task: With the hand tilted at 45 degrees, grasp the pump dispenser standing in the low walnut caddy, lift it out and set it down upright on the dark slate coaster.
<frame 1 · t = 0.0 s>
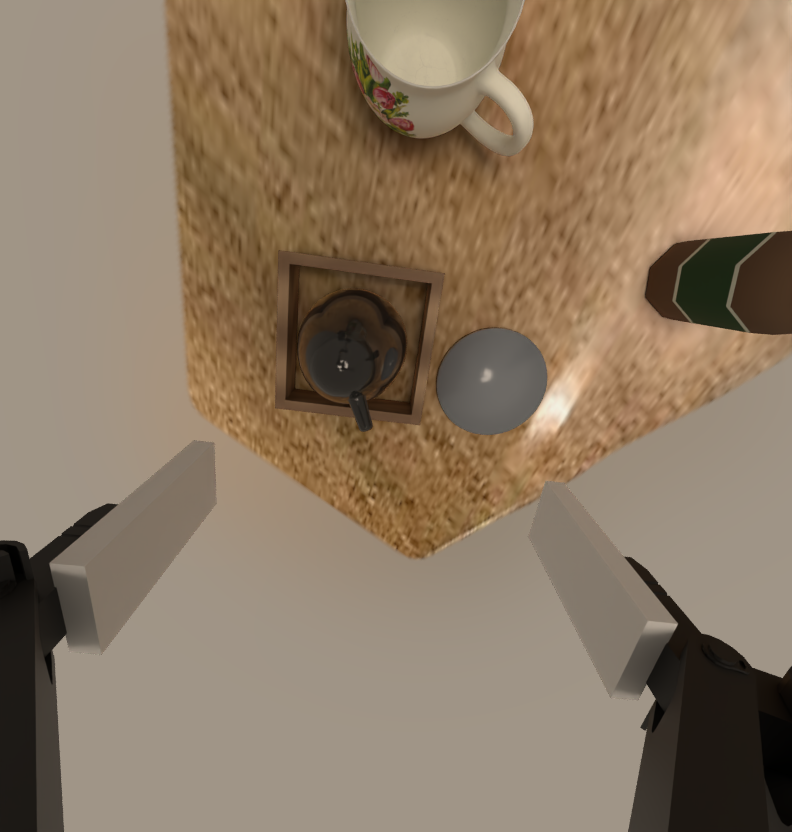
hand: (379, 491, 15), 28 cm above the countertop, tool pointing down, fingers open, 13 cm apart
caddy: (358, 338, 41), on the countertop
coaster: (490, 382, 43), on the countertop
beer bottle: (679, 280, 39), on the countertop
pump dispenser: (358, 337, 41), resting in caddy
pitcher: (427, 92, 34), on the countertop
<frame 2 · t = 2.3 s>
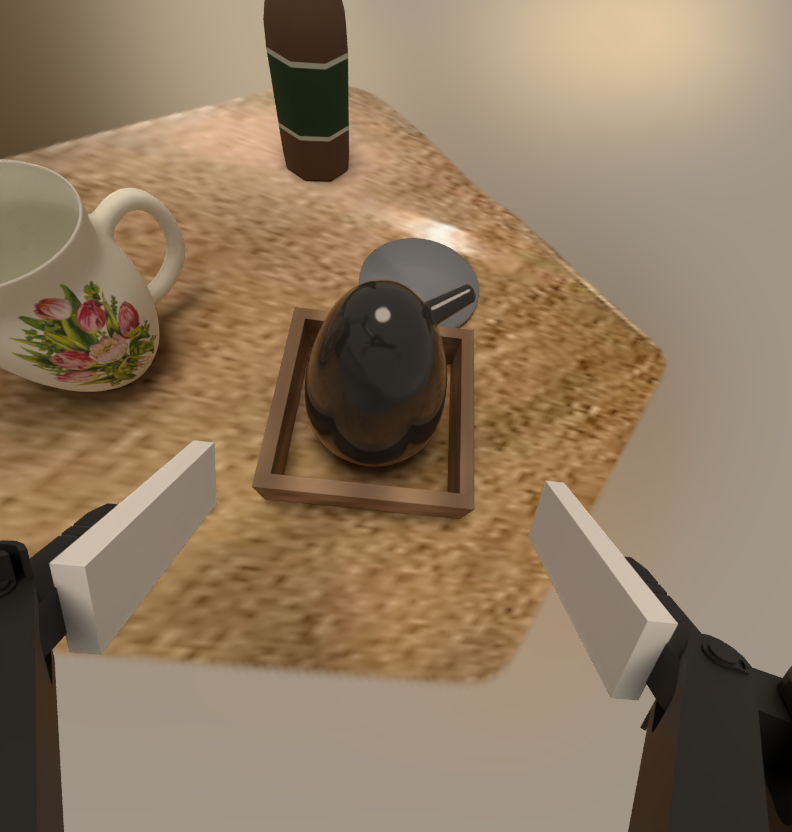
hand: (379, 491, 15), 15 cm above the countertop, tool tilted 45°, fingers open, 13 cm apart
caddy: (373, 419, 33), on the countertop
coaster: (418, 288, 39), on the countertop
beer bottle: (317, 163, 45), on the countertop
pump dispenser: (373, 421, 33), resting in caddy
pitcher: (124, 349, 33), on the countertop
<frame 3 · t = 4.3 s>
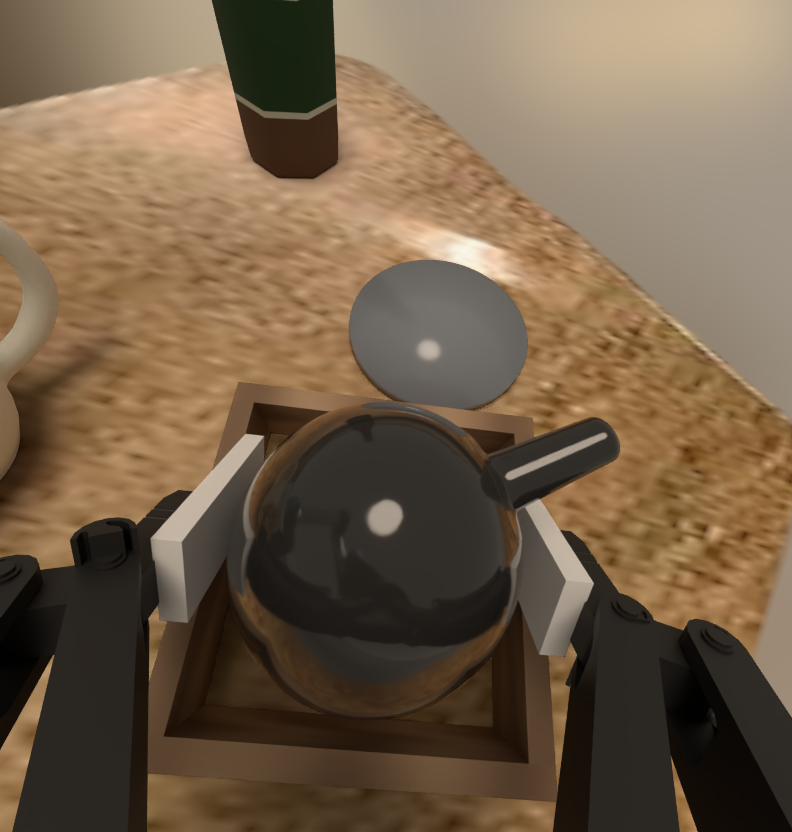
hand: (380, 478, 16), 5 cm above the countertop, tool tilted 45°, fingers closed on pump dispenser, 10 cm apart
caddy: (368, 562, 20), on the countertop
coaster: (437, 334, 26), on the countertop
beer bottle: (296, 154, 33), on the countertop
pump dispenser: (369, 562, 20), resting in caddy, touching gripper
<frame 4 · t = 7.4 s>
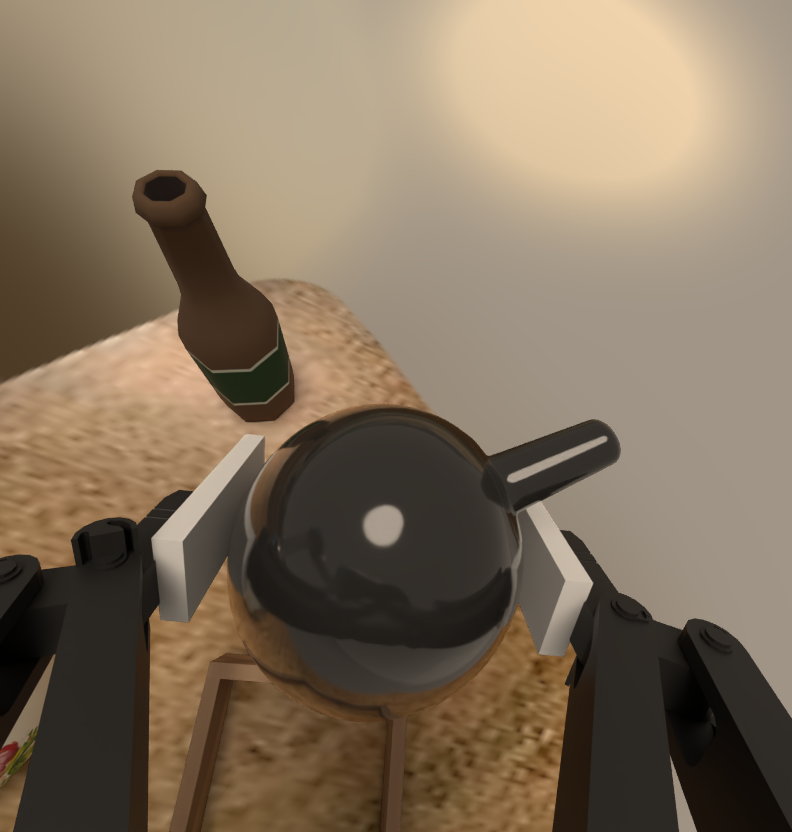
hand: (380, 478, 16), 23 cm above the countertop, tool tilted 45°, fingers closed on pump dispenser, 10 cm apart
caddy: (299, 774, 30), on the countertop
beer bottle: (262, 393, 43), on the countertop
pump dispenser: (370, 563, 20), point 17 cm above the countertop, touching gripper
pitcher: (28, 690, 30), on the countertop
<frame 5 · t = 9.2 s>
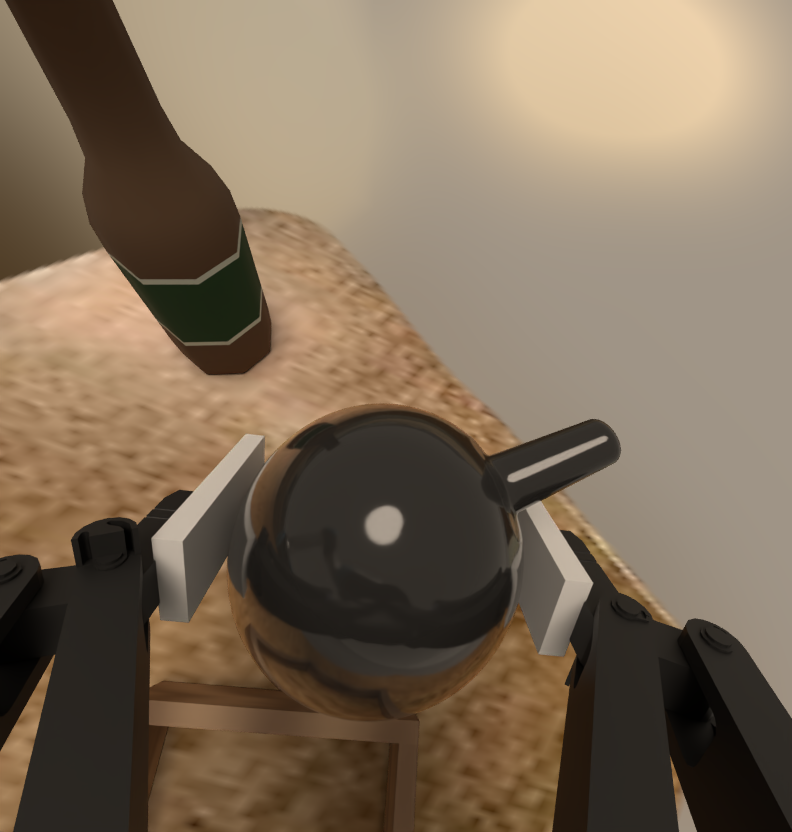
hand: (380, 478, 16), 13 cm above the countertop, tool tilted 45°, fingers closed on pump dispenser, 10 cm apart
beer bottle: (230, 341, 33), on the countertop
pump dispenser: (369, 563, 20), point 7 cm above the countertop, touching gripper
when the fingers open (8 cm above the countertop, at t = 10.8 s): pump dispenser drops 1 cm, resting on coaster.
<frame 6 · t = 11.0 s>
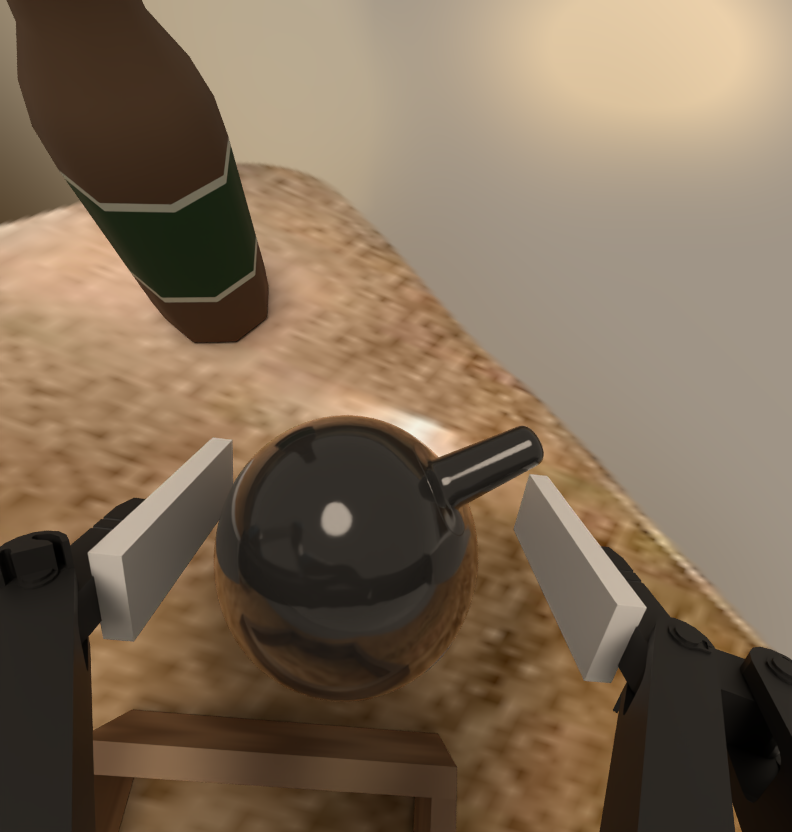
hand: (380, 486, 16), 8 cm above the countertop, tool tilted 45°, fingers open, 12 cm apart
beer bottle: (220, 306, 29), on the countertop
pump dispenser: (362, 566, 21), point 1 cm above the countertop, touching coaster
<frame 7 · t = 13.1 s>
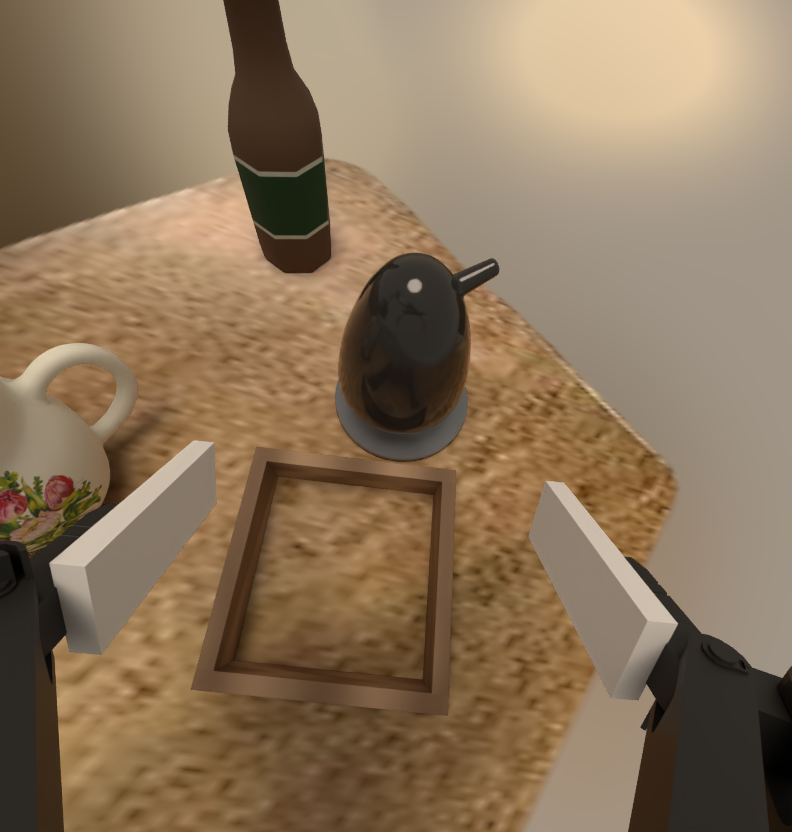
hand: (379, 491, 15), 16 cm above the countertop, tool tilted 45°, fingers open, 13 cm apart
caddy: (343, 569, 29), on the countertop
coaster: (401, 399, 36), on the countertop
beer bottle: (299, 251, 43), on the countertop
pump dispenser: (398, 397, 35), point 1 cm above the countertop, touching coaster
pitcher: (75, 484, 31), on the countertop
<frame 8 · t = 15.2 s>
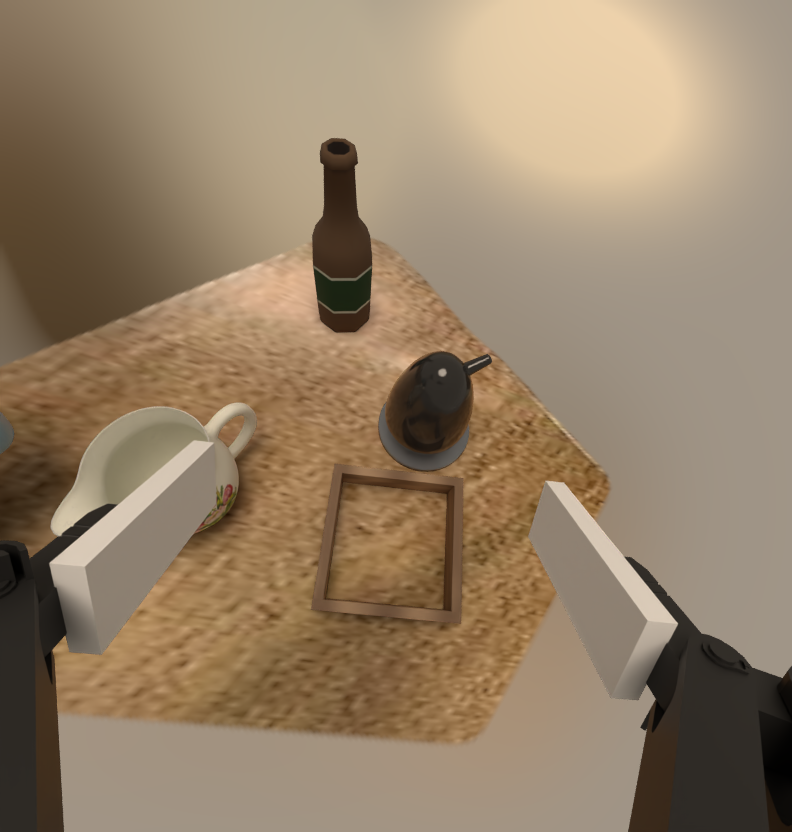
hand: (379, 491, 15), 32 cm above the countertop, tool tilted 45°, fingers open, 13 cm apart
caddy: (390, 542, 45), on the countertop
coaster: (423, 427, 51), on the countertop
beer bottle: (344, 314, 58), on the countertop
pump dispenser: (422, 426, 51), point 1 cm above the countertop, touching coaster
pitcher: (209, 488, 46), on the countertop
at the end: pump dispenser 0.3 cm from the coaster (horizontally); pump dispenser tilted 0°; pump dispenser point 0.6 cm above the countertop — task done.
